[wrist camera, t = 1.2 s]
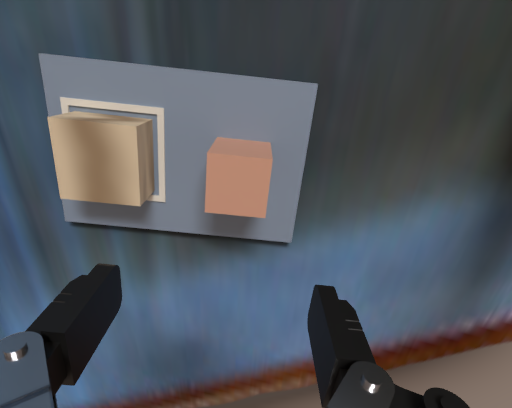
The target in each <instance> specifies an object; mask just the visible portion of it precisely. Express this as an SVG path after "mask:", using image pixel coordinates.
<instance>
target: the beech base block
mask: <svg viewBox="0 0 512 408" xmlns="http://www.w3.org/2000/svg"><path fill="white" fill-rule="evenodd" d="M47 118H48V124H49V130H50V137H51V143H52V149H53V155H54V161H55V168H56V174H57V180H58V186H59V192H60V199H70V200H80V201H90V202H101V203H111V204H121V205H131V206H141V205H142V204H143V203H144V202H145V201H146V200H147V198H148V197H149V196H150V195H151V194H152V193H153V192H154V190H155V187H154V154H153V121H152V119H146V118H136V117H127V116H117V115H108V114H98V113H89V112H79V111H73V112H69V113H64V114H60V115H55V116H51V117H47Z"/></svg>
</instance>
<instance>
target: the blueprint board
mask: <svg viewBox="0 0 512 408" xmlns="http://www.w3.org/2000/svg"><path fill="white" fill-rule="evenodd" d="M39 59H40V65H41V72H42V78H43V84H44V90H45V97H46V103H47V109H48V115H49V117H51V116H55V115H60V114H64V113H69V112H73V111H79V112H89V113H98V114H108V115H117V116H127V117H136V118H146V119H152V121H153V154H154V187H155V190H154V192H153V193H152V194H151V195H150V196H149V197H148V198H147V200H146V201H145V202H144V203H143V204H142V205H141V206H131V205H121V204H111V203H101V202H90V201H80V200H70V199H62V203H63V210H64V216H65V221H70V222H80V223H90V224H101V225H111V226H122V227H132V228H143V229H153V230H163V231H174V232H184V233H195V234H205V235H216V236H226V237H237V238H247V239H257V240H268V241H278V242H289V243H291V241H292V235H293V229H294V223H295V217H296V211H297V205H298V199H299V194H300V188H301V182H302V176H303V170H304V164H305V158H306V152H307V146H308V140H309V134H310V128H311V122H312V117H313V111H314V105H315V99H316V93H317V87H318V84H315V83H306V82H297V81H288V80H279V79H270V78H261V77H252V76H243V75H234V74H225V73H216V72H206V71H197V70H188V69H179V68H170V67H161V66H152V65H143V64H134V63H125V62H116V61H107V60H97V59H88V58H79V57H70V56H61V55H52V54H41V53H39ZM217 137H223V138H232V139H242V140H251V141H261V142H270V143H271V150H272V157H273V162H272V170H271V177H270V185H269V193H268V201H267V209H266V217H265V218H258V217H247V216H237V215H227V214H217V213H206V212H205V192H206V167H207V152H208V150H209V149H210V147H211V146H212V144H213V143H214V141H215V140H216V138H217Z"/></svg>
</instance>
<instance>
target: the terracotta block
mask: <svg viewBox="0 0 512 408" xmlns="http://www.w3.org/2000/svg"><path fill="white" fill-rule="evenodd" d="M272 162H273V157H272V150H271V143H270V142H261V141H251V140H242V139H232V138H223V137H217V138H216V140H215V141H214V143H213V144H212V146H211V147H210V149H209V150H208V152H207V167H206V192H205V212H206V213H217V214H227V215H237V216H247V217H258V218H265V217H266V209H267V201H268V193H269V185H270V177H271V170H272Z"/></svg>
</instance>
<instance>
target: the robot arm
mask: <svg viewBox="0 0 512 408" xmlns="http://www.w3.org/2000/svg"><path fill="white" fill-rule="evenodd" d="M121 301H122V289H121V278H120V268H119V266H118V265H109V264H97V265H96V266H95V267H94V268H93V269H92V271H91V272H90V273H89V274H88V275H81V276H79V277H78V278H76V279H74V280H73V281H71V282H69V283H68V285H67V286H66V287H65V288H64V289H63V290H62V291H61V293H60V294H59V295H58V296H57V297H56V298H55V299H54V301H53V302H51V303H50V305H49V306H48V307H47V308H46V309H45V310H44V311H43V312H42V313H41V314H40V316H39V317H38V318H37V319H36V320H35V321H34V322H33V323H32V324H31V326H30V327H29V328H28V329H27V330H26V331H25V332H19V333H16V334H13V335H10V336H8V337H6V338H4V339H2V340H1V341H0V408H58V406H57V399H56V395H55V394H56V392H57V391H58V389H59V388H60V386H61V385H75V384H76V382H77V380H78V379H79V377H80V375H81V374H82V372H83V370H84V368H85V367H86V365H87V363H88V362H89V360H90V358H91V357H92V355H93V353H94V352H95V350H96V348H97V347H98V345H99V343H100V341H101V340H102V338H103V336H104V335H105V333H106V331H107V330H108V328H109V326H110V325H111V323H112V321H113V319H114V318H115V316H116V314H117V313H118V311H119V309H120V306H121ZM308 332H309V338H310V343H311V349H312V355H313V360H314V366H315V371H316V377H317V382H318V388H319V393H320V399H321V404H322V407H323V408H469V406H468V405H467V404H466V403H465V402H464V401H463V400H462V399H461V398H459V397H458V396H456V395H455V394H453V393H452V392H450V391H448V390H445V389H442V388H430V389H428V390H427V391H426V392H425V394H424V396H422V395H419V394H417V393H414V392H411V391H409V390H406V389H404V388H401V387H399V386H397V385H395V384H394V383H393V381H392V379H391V377H390V376H389V375H388V373H387V372H386V371H385V370H383V369H382V368H381V367H379V366H378V365H376V362H375V360H374V357H373V355H372V352H371V349H370V347H369V344H368V342H367V339H366V337H365V334H364V332H363V331H362V327H361V324H360V323H359V319H358V316H357V314H356V311H355V309H354V308H353V307H352V306H351V305H350V304H349V303H348V302H347V301H346V300H339V299H338V296H337V293H336V290H335V288H334V286H324V285H315V286H314V290H313V294H312V299H311V303H310V308H309V312H308Z"/></svg>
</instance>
